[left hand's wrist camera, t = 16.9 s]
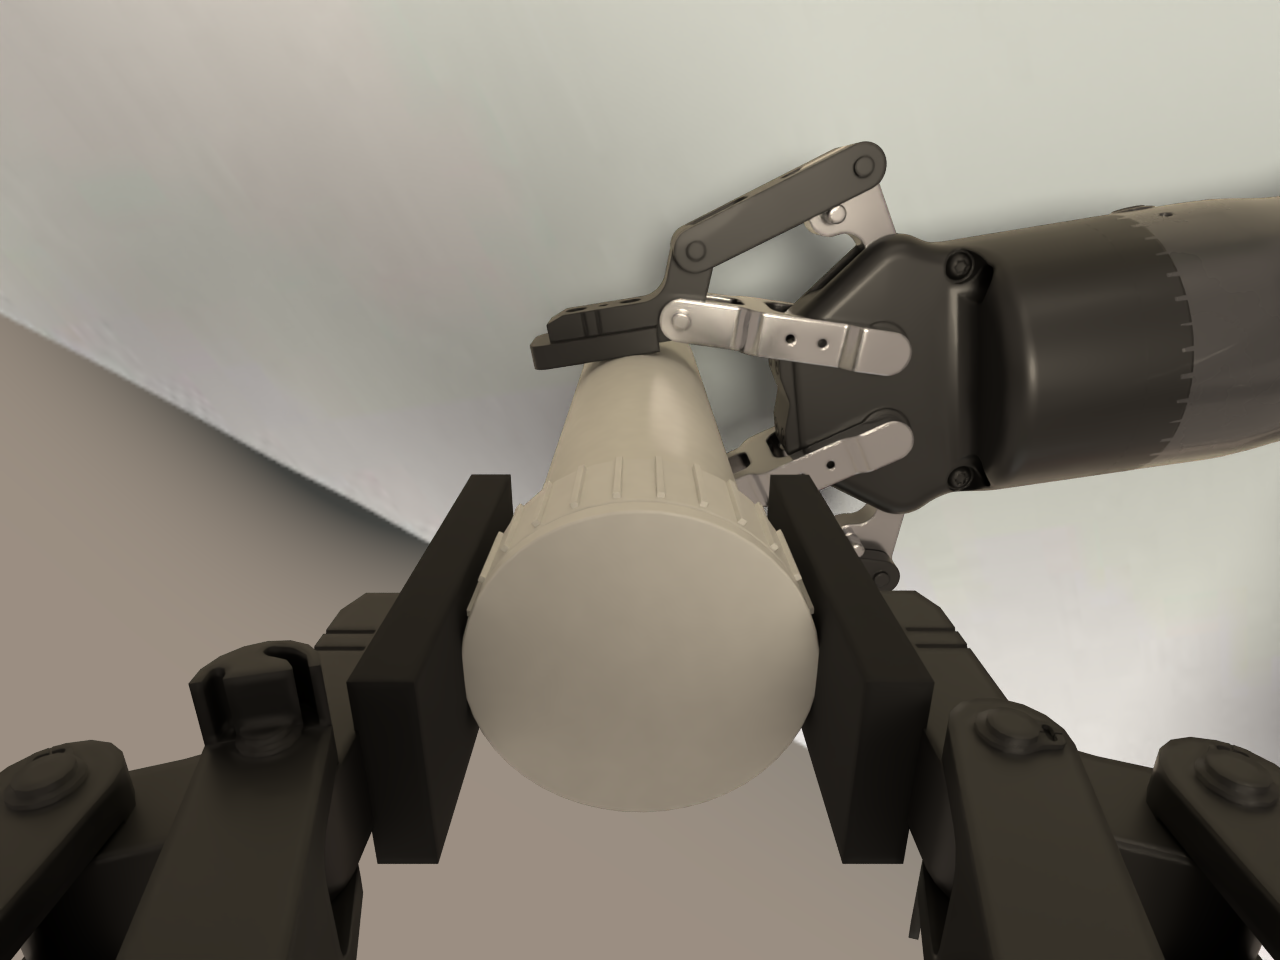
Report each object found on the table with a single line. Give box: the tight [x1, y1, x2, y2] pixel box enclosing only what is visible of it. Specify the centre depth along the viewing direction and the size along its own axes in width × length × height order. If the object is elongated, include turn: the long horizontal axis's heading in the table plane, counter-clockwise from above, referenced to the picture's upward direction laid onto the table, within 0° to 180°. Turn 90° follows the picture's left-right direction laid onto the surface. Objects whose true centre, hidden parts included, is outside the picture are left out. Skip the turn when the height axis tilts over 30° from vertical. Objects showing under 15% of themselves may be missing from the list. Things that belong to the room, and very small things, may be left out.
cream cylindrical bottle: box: [545, 341, 738, 489], centre depth 20 cm, size 4×4×19 cm
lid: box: [462, 456, 819, 812], centre depth 11 cm, size 5×5×2 cm
